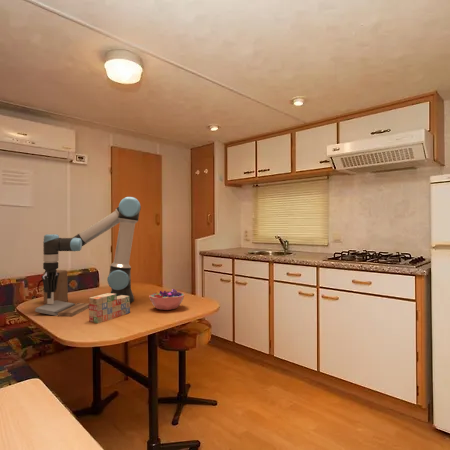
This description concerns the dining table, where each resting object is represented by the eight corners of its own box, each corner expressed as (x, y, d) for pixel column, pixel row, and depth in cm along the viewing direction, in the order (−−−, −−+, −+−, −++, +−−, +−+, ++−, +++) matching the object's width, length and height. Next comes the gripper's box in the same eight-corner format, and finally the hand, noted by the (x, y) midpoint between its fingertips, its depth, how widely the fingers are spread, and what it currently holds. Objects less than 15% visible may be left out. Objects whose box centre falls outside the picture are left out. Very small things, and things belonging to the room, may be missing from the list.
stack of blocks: (122, 311, 181) (121, 289, 181) (130, 313, 178) (129, 290, 178) (89, 322, 163) (88, 297, 163) (97, 323, 160) (96, 298, 160)
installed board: (91, 307, 192) (91, 303, 192) (72, 316, 172) (72, 312, 172) (78, 307, 193) (78, 303, 193) (57, 316, 173) (57, 312, 173)
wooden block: (57, 305, 198) (56, 272, 197) (43, 304, 200) (42, 272, 199) (68, 301, 207) (67, 269, 207) (54, 301, 209) (54, 269, 209)
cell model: (154, 305, 194) (153, 286, 194) (187, 305, 193) (187, 286, 192) (145, 313, 177) (145, 292, 177) (182, 313, 176) (181, 292, 176)
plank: (74, 307, 192) (75, 303, 192) (56, 315, 174) (56, 312, 174) (55, 303, 193) (56, 300, 193) (35, 311, 175) (35, 307, 175)
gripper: (51, 260, 190) (51, 300, 190) (36, 263, 177) (36, 306, 177) (64, 260, 190) (63, 301, 190) (49, 263, 177) (49, 307, 177)
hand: (50, 303), depth 184 cm, fingers closed
